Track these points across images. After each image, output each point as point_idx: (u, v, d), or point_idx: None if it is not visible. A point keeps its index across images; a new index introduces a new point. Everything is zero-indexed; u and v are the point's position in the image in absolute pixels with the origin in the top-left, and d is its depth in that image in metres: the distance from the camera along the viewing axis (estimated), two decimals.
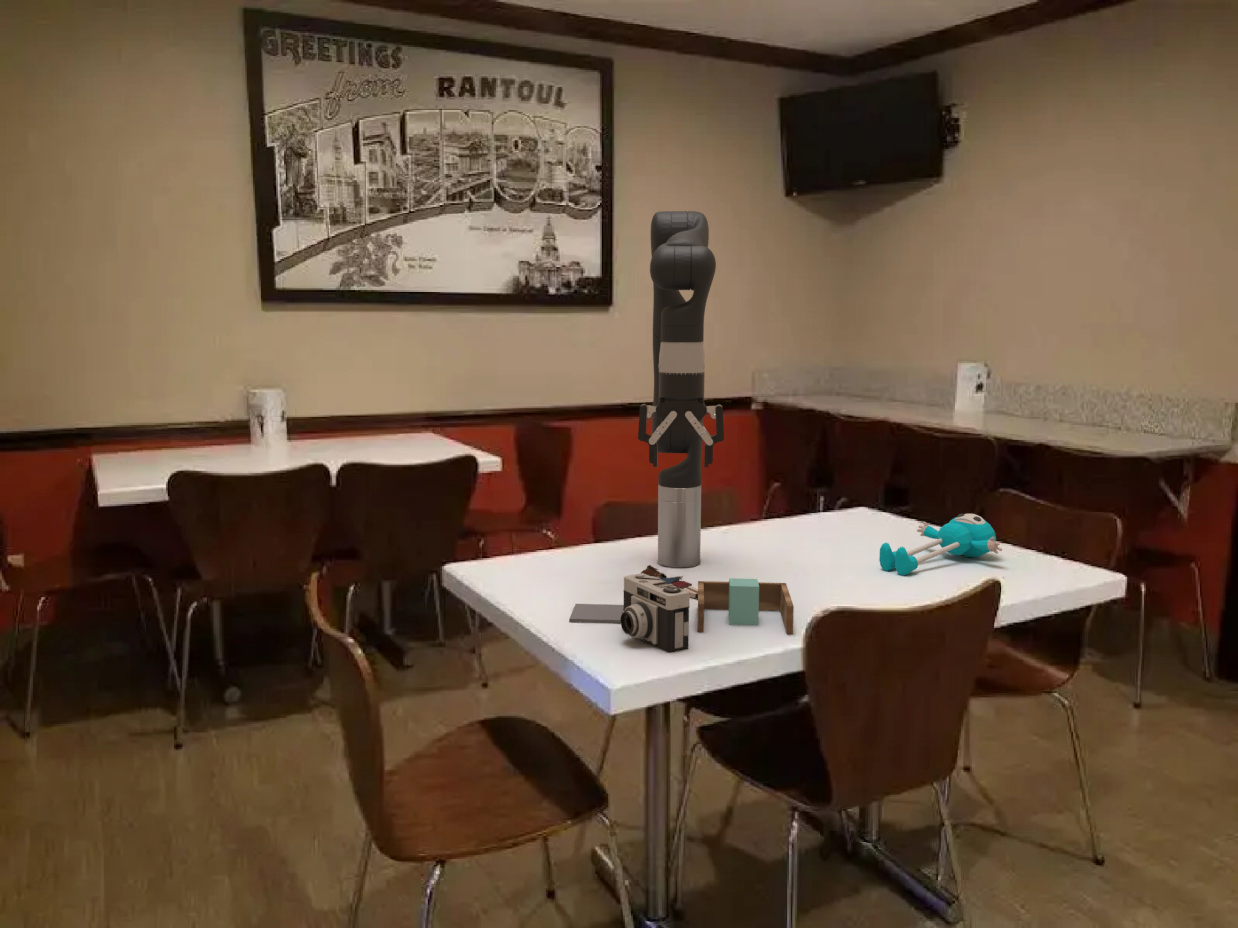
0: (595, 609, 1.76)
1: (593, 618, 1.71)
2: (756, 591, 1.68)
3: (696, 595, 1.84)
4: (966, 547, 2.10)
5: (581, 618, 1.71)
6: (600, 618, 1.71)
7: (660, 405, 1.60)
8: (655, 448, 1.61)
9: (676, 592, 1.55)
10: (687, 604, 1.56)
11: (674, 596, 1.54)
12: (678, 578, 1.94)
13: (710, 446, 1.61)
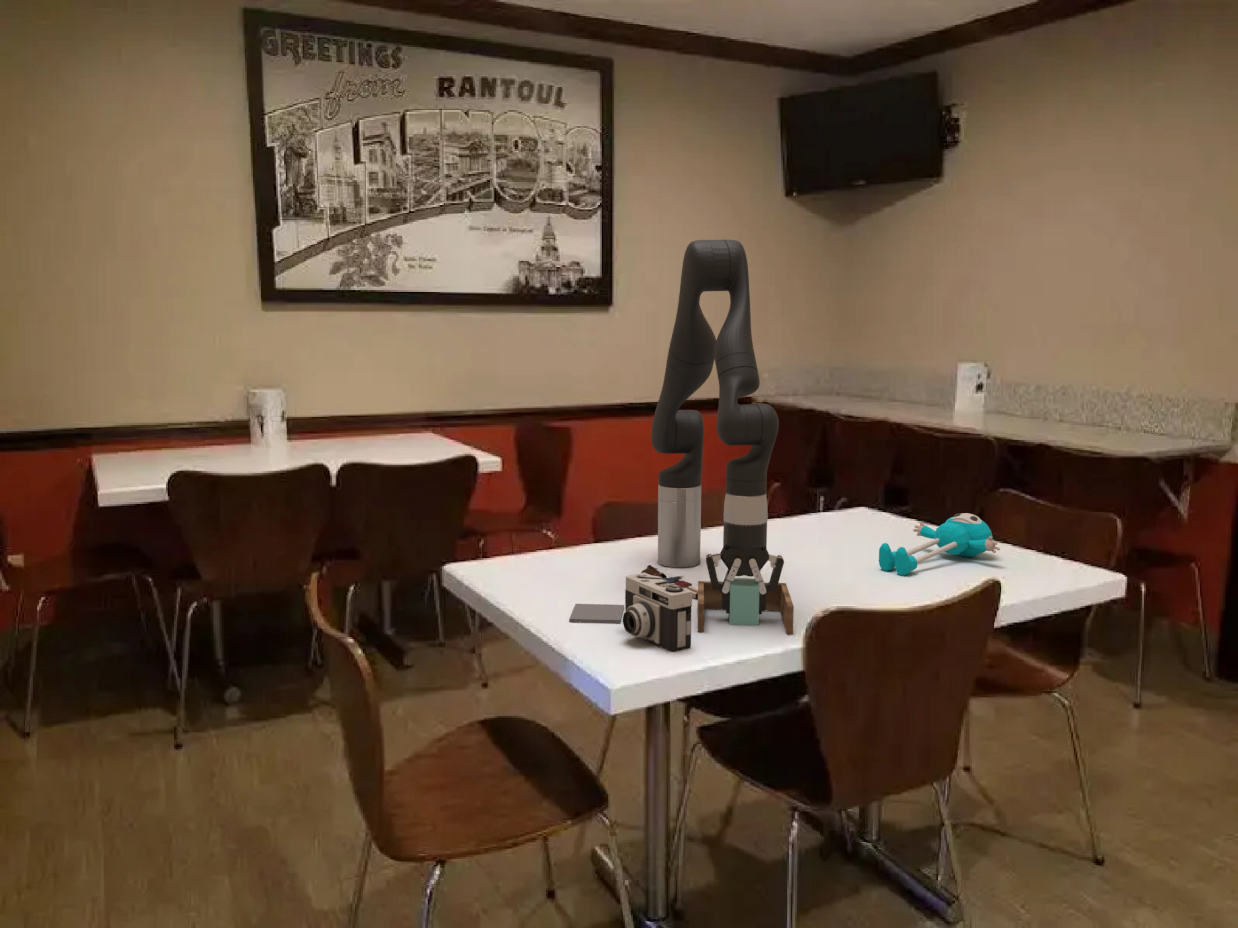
0: (595, 609, 1.76)
1: (593, 618, 1.71)
2: (757, 591, 1.68)
3: (696, 595, 1.84)
4: (963, 546, 2.10)
5: (581, 618, 1.71)
6: (600, 618, 1.71)
7: (724, 553, 1.69)
8: (728, 596, 1.70)
9: (679, 591, 1.56)
10: (689, 603, 1.56)
11: (677, 595, 1.55)
12: (678, 578, 1.94)
13: (763, 594, 1.70)
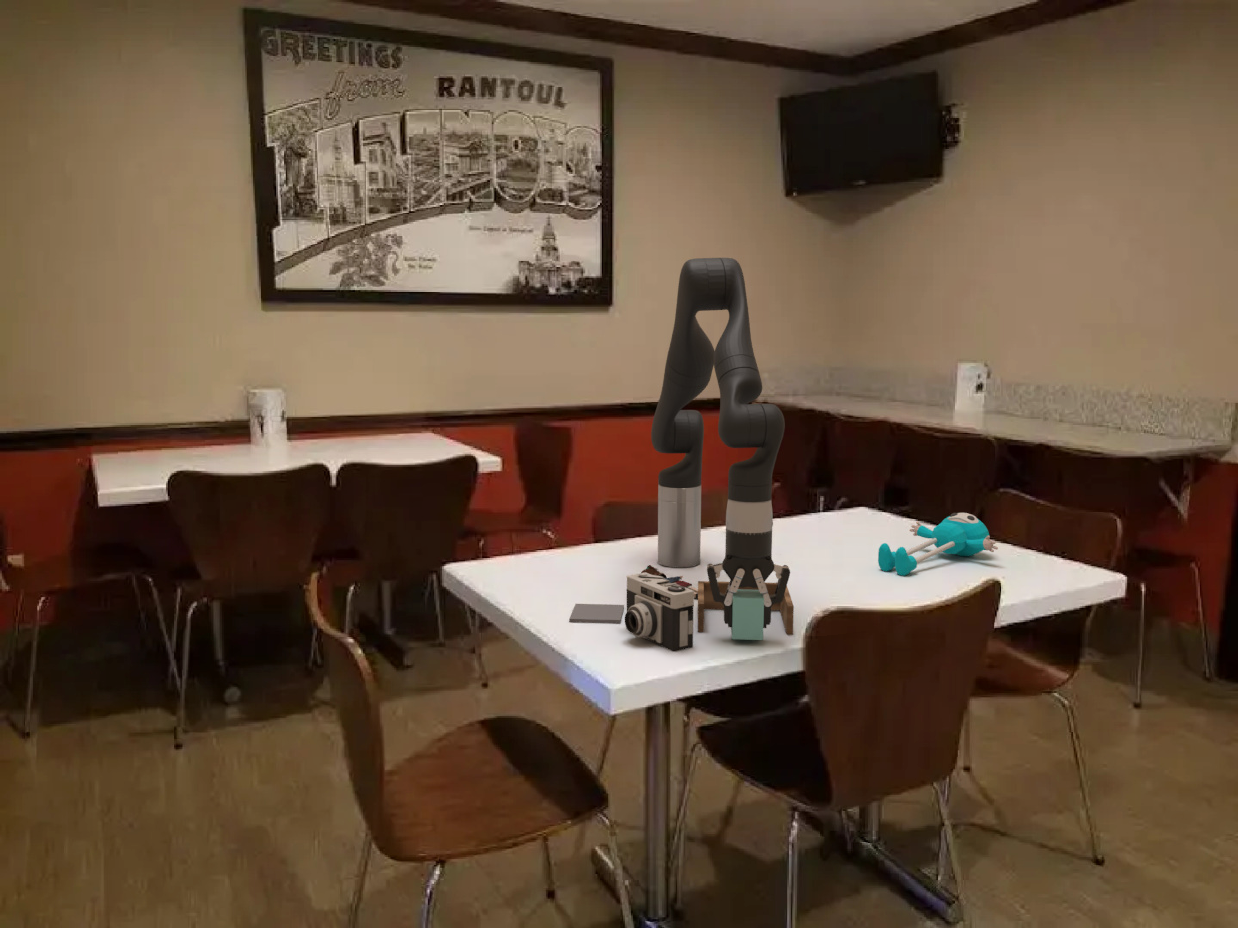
0: (595, 609, 1.76)
1: (593, 618, 1.71)
2: (761, 603, 1.58)
3: (696, 595, 1.84)
4: (961, 546, 2.11)
5: (581, 618, 1.71)
6: (600, 618, 1.71)
7: (726, 562, 1.58)
8: (731, 609, 1.59)
9: (681, 591, 1.56)
10: (691, 603, 1.57)
11: (679, 594, 1.55)
12: (678, 578, 1.94)
13: (768, 607, 1.59)
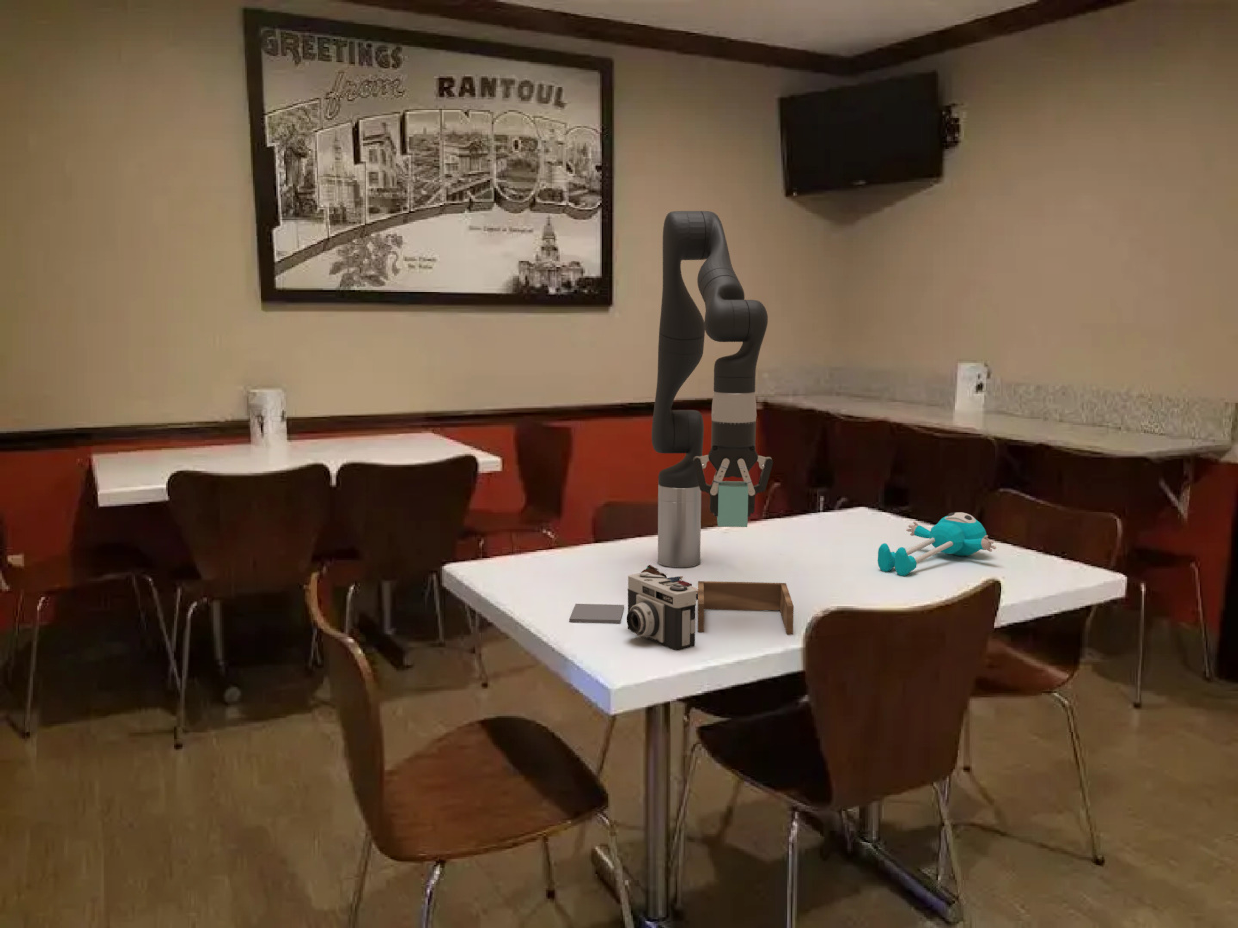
0: (595, 609, 1.76)
1: (593, 618, 1.71)
2: (746, 492, 1.65)
3: (696, 595, 1.84)
4: (959, 546, 2.11)
5: (581, 618, 1.71)
6: (600, 618, 1.71)
7: (712, 453, 1.66)
8: (716, 498, 1.67)
9: (683, 590, 1.56)
10: (694, 602, 1.57)
11: (682, 594, 1.55)
12: (678, 578, 1.94)
13: (752, 496, 1.67)
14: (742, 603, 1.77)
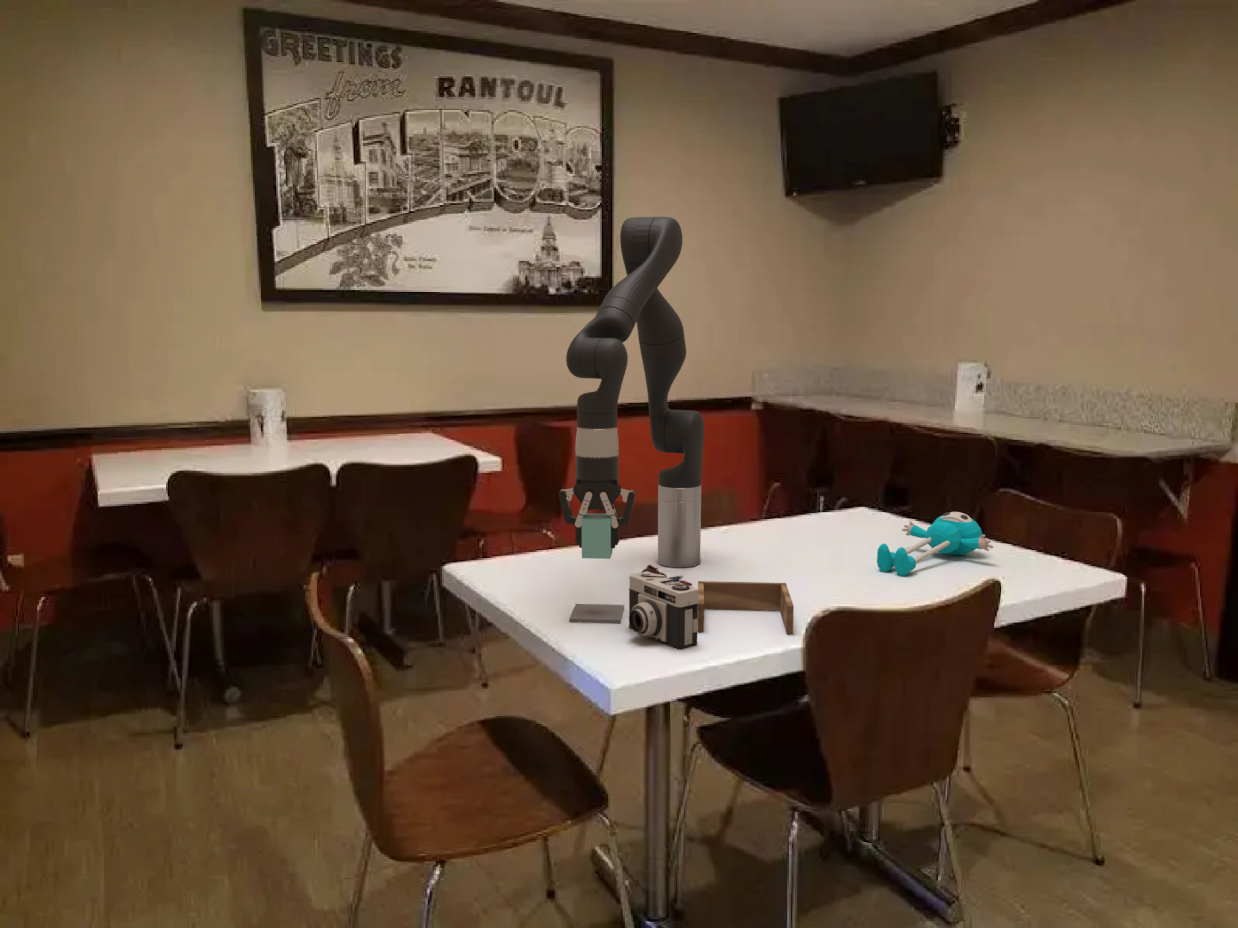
0: (595, 609, 1.76)
1: (593, 618, 1.71)
2: (608, 524, 1.69)
3: None
4: (956, 545, 2.11)
5: (581, 618, 1.71)
6: (600, 618, 1.71)
7: (576, 487, 1.70)
8: (581, 530, 1.71)
9: (685, 589, 1.57)
10: (696, 601, 1.57)
11: (684, 593, 1.56)
12: (678, 578, 1.94)
13: (616, 528, 1.71)
14: (742, 603, 1.77)
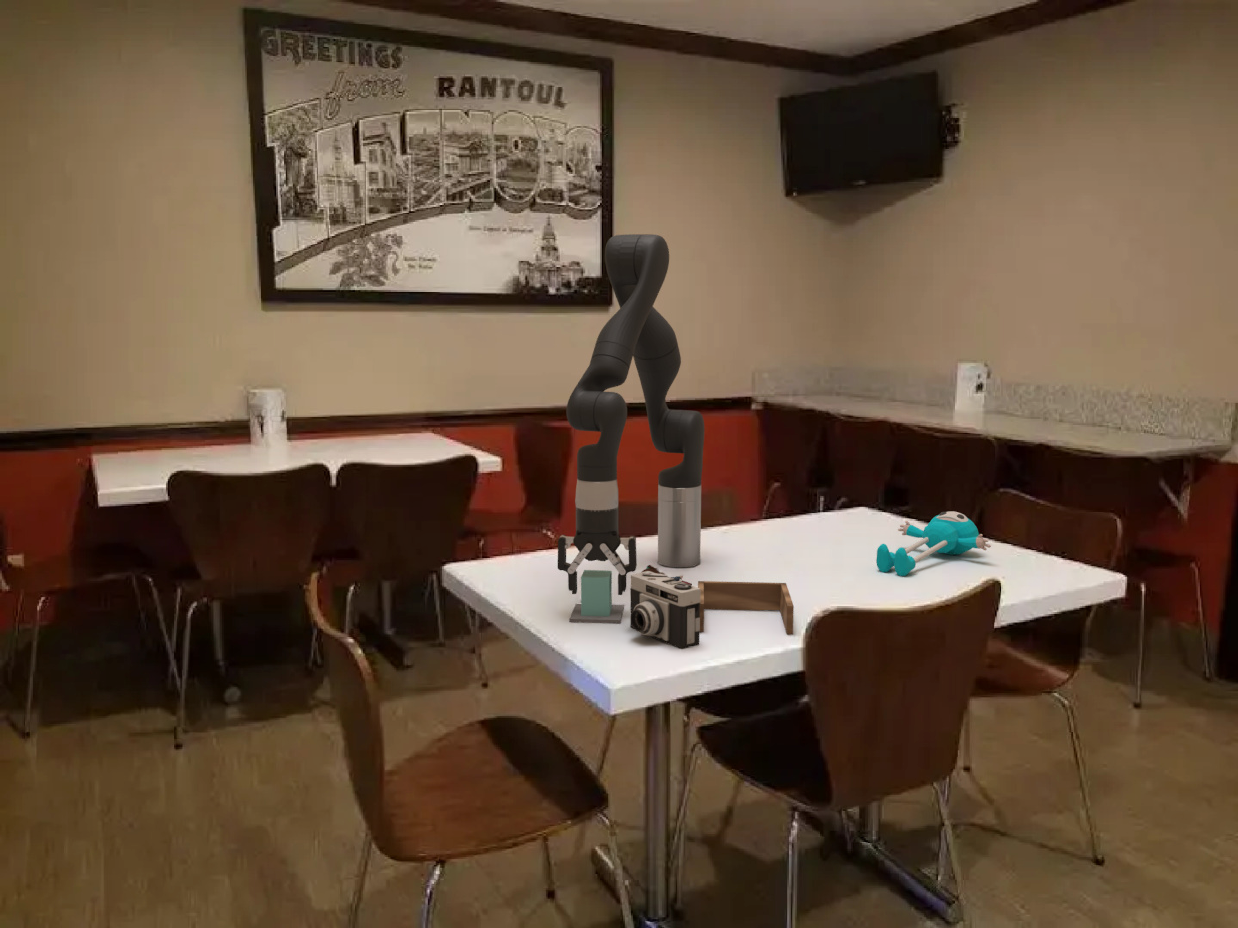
0: None
1: (593, 618, 1.71)
2: (607, 583, 1.71)
3: None
4: (953, 545, 2.12)
5: (581, 618, 1.71)
6: (600, 618, 1.71)
7: (577, 537, 1.72)
8: (574, 577, 1.73)
9: (688, 589, 1.57)
10: (698, 600, 1.58)
11: (687, 592, 1.56)
12: (678, 578, 1.94)
13: (623, 575, 1.72)
14: (742, 603, 1.77)
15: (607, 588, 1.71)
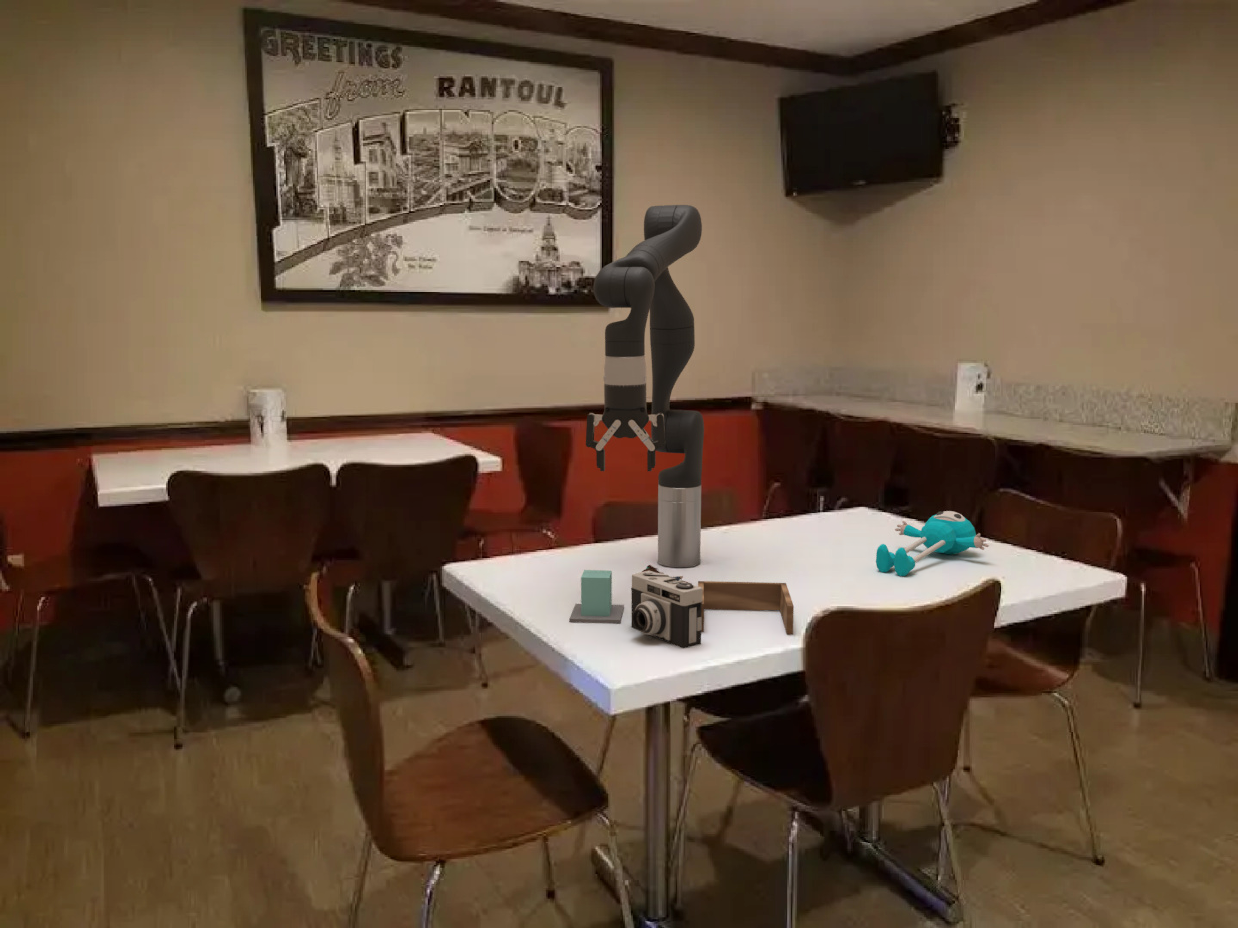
0: None
1: (593, 618, 1.71)
2: (607, 583, 1.71)
3: None
4: (951, 544, 2.12)
5: (581, 618, 1.71)
6: (600, 618, 1.71)
7: (605, 414, 1.73)
8: (602, 454, 1.75)
9: (690, 588, 1.57)
10: (700, 599, 1.58)
11: (689, 591, 1.57)
12: (678, 578, 1.94)
13: (652, 451, 1.74)
14: (742, 603, 1.77)
15: (607, 588, 1.71)
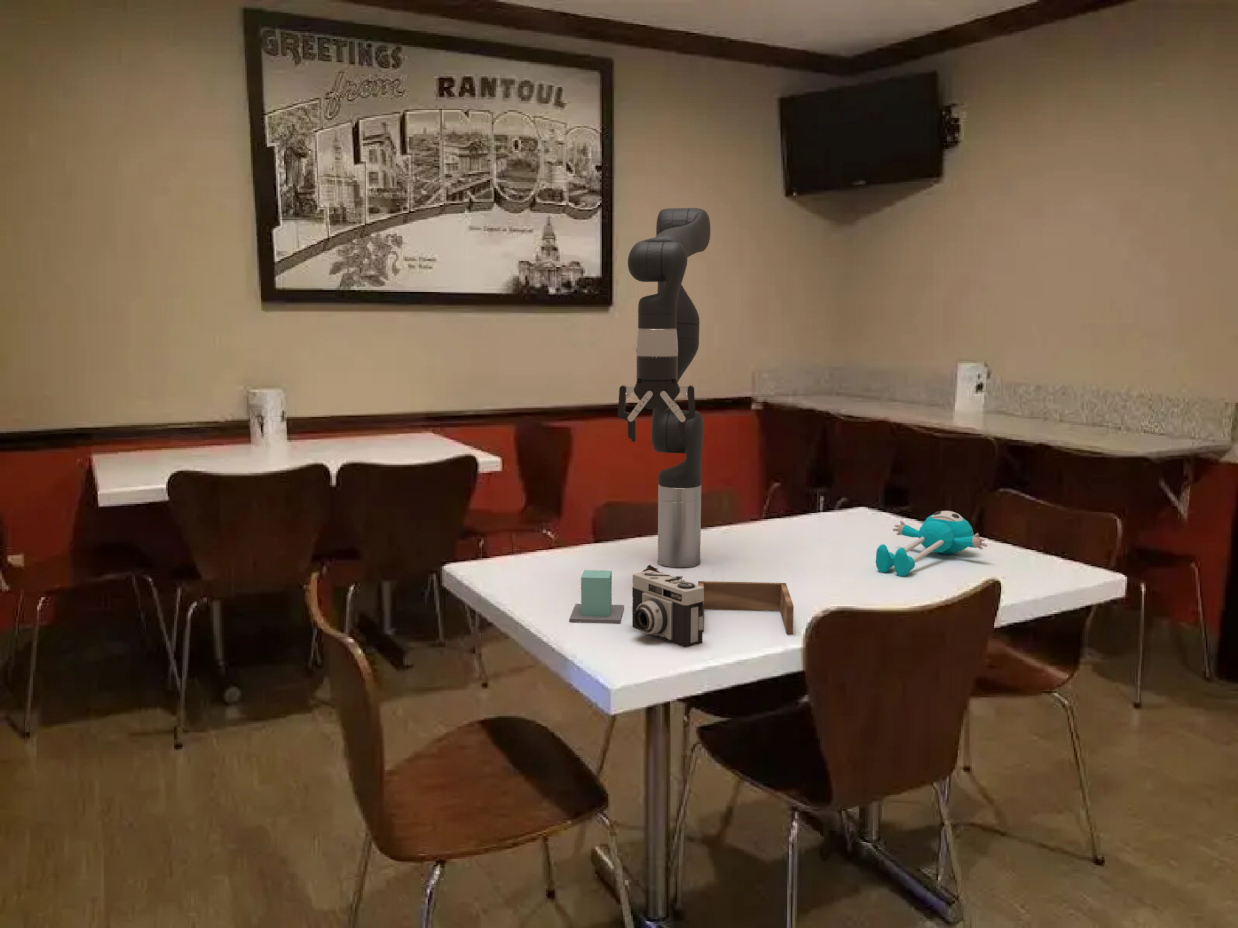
0: None
1: (593, 618, 1.71)
2: (607, 583, 1.71)
3: None
4: (949, 544, 2.12)
5: (581, 618, 1.71)
6: (600, 618, 1.71)
7: (638, 386, 1.78)
8: (633, 425, 1.79)
9: (691, 587, 1.58)
10: (702, 599, 1.59)
11: (690, 591, 1.57)
12: (678, 578, 1.94)
13: (683, 423, 1.78)
14: (742, 603, 1.77)
15: (607, 588, 1.71)
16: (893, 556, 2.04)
